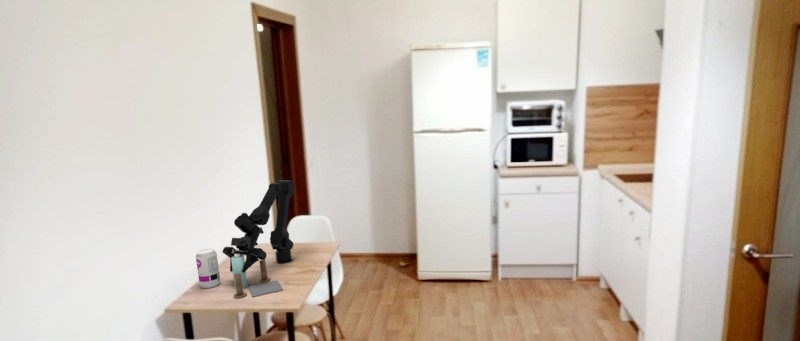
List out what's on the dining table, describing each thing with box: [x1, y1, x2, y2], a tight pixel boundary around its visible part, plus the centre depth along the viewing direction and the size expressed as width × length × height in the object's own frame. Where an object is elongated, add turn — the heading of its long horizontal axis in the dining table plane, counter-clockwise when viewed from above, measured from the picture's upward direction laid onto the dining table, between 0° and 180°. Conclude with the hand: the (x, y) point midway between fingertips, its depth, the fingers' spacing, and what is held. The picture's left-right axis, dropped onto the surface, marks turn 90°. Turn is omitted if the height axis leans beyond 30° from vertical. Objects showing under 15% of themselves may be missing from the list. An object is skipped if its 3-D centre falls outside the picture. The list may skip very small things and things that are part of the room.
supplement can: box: [195, 248, 221, 289], centre depth 195 cm, size 8×8×15 cm
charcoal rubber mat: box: [247, 279, 284, 298], centre depth 187 cm, size 12×12×1 cm
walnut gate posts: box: [233, 259, 272, 300], centre depth 188 cm, size 21×5×9 cm, turn 161°
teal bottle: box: [231, 253, 248, 290], centre depth 190 cm, size 5×5×14 cm
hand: (236, 271), depth 189 cm, fingers open, 6 cm apart
